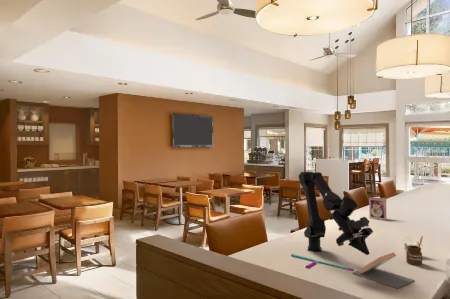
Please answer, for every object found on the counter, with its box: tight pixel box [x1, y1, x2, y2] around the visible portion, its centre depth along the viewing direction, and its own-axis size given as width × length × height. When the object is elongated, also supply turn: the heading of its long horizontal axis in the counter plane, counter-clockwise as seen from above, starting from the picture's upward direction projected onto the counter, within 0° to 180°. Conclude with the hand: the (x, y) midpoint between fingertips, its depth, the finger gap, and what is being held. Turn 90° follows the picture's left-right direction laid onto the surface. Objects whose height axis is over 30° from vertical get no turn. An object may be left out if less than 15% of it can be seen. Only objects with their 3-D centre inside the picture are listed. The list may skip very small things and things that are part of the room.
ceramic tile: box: [357, 252, 397, 274], centre depth 127 cm, size 2×10×12 cm
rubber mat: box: [352, 267, 415, 290], centre depth 125 cm, size 18×12×1 cm, turn 34°
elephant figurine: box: [403, 240, 424, 253], centre depth 152 cm, size 8×10×7 cm
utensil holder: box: [405, 235, 424, 266], centre depth 141 cm, size 6×6×12 cm
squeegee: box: [290, 253, 355, 272], centre depth 139 cm, size 29×2×10 cm
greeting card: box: [368, 197, 387, 221], centre depth 233 cm, size 11×7×15 cm, turn 43°
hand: (368, 254), depth 130 cm, fingers closed
